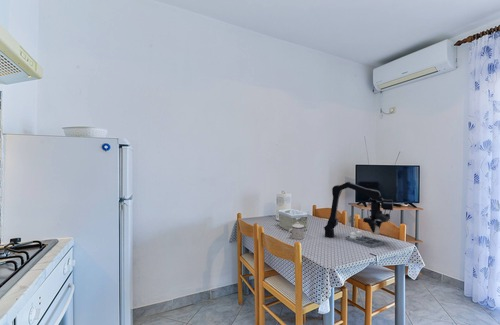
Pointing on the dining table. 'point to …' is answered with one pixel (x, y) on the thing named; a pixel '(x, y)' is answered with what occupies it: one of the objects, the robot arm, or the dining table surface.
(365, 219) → the robot arm
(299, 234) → the teacup with lid
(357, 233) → the cream egg
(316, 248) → the dining table surface
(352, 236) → the cream egg
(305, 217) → the storage basket
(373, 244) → the egg tray
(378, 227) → the brown egg
